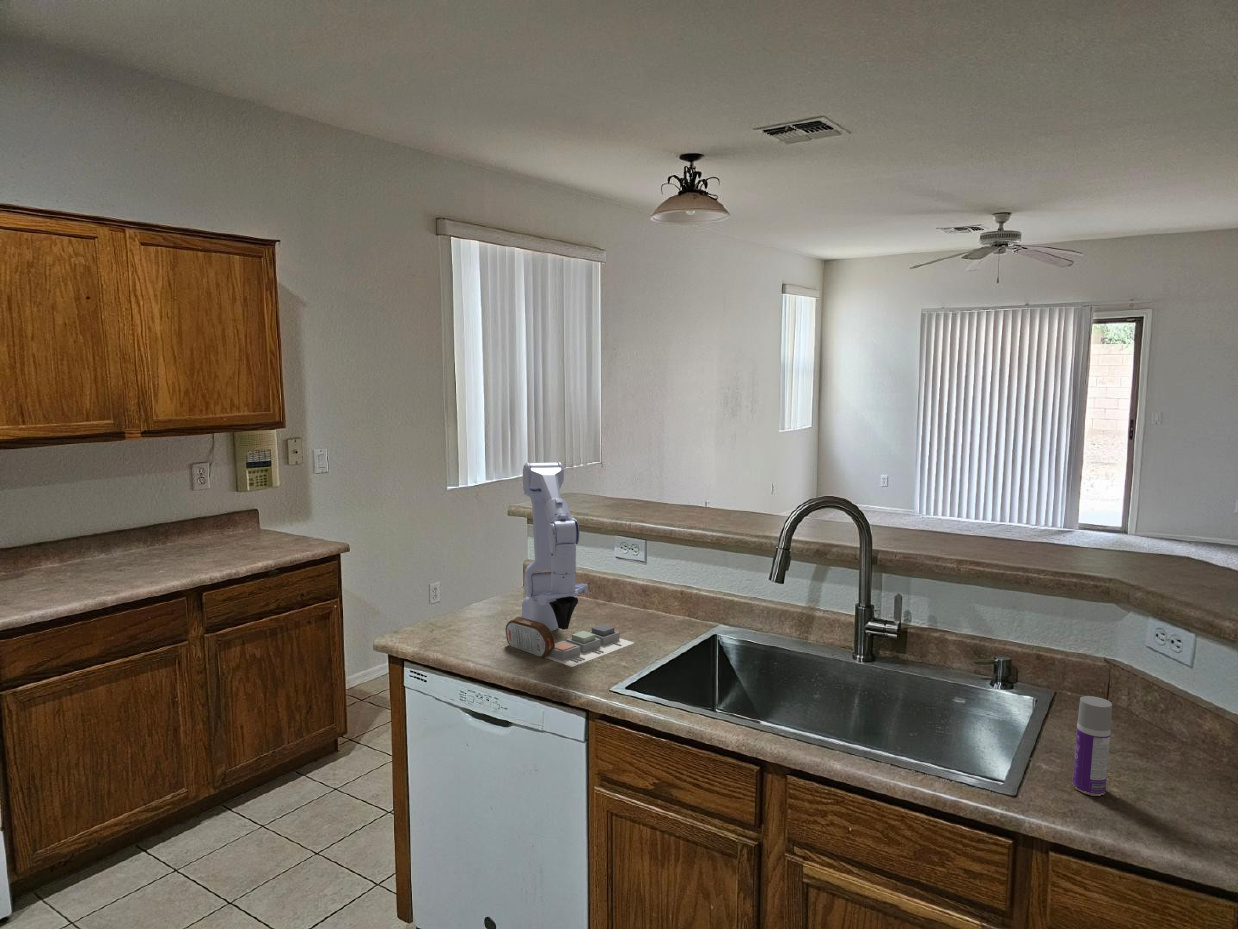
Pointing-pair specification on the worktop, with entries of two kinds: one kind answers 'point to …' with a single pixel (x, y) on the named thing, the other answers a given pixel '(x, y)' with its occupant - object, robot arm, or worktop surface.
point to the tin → (530, 636)
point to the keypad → (588, 649)
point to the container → (1092, 744)
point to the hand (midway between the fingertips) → (563, 628)
